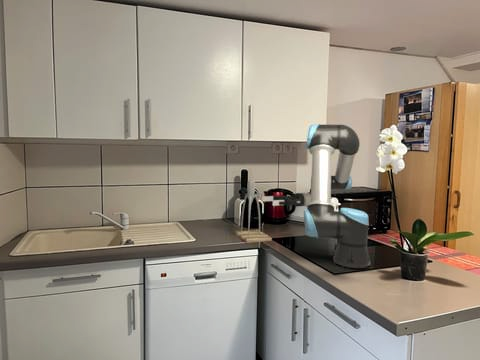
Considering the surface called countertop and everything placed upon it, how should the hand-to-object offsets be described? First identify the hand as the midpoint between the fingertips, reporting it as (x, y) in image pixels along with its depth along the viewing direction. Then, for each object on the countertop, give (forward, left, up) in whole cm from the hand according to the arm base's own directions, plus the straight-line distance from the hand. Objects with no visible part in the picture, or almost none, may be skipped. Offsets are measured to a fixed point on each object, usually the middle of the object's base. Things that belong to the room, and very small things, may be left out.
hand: (267, 200), depth 189 cm
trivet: (0, +8, -19) cm, 21 cm away
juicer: (0, +8, -18) cm, 20 cm away
